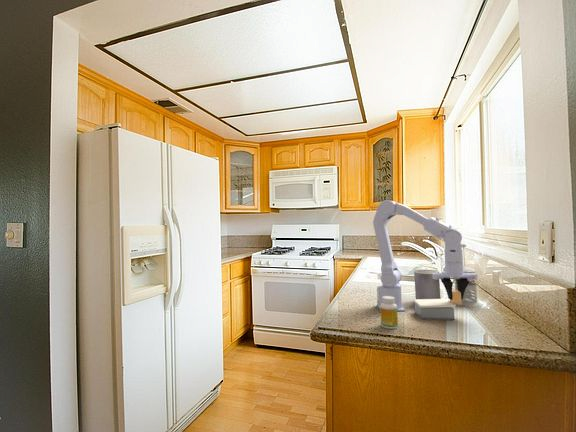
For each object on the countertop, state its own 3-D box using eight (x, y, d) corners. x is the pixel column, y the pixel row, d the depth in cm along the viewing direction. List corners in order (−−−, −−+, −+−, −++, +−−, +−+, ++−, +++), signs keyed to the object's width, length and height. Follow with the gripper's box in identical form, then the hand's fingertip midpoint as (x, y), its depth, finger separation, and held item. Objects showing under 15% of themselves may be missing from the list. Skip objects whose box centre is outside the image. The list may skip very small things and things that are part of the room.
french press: (479, 307, 113) (476, 244, 114) (446, 303, 120) (443, 244, 121) (481, 301, 121) (478, 243, 122) (450, 298, 128) (447, 242, 129)
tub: (421, 319, 102) (421, 308, 102) (415, 312, 110) (414, 301, 110) (454, 320, 100) (454, 308, 100) (445, 312, 108) (445, 302, 108)
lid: (420, 307, 102) (419, 295, 102) (414, 301, 110) (413, 289, 110) (465, 307, 99) (464, 294, 99) (455, 300, 108) (454, 288, 108)
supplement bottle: (396, 330, 92) (394, 300, 93) (379, 327, 95) (378, 298, 95) (399, 325, 97) (398, 296, 97) (383, 322, 100) (382, 294, 100)
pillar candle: (427, 299, 127) (425, 265, 128) (446, 304, 118) (444, 268, 119) (410, 302, 124) (408, 267, 124) (428, 308, 115) (426, 270, 115)
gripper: (436, 263, 101) (438, 301, 101) (480, 263, 99) (482, 302, 99) (429, 260, 108) (431, 296, 108) (471, 260, 106) (472, 297, 106)
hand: (455, 299), depth 104 cm, fingers closed on lid, 3 cm apart
